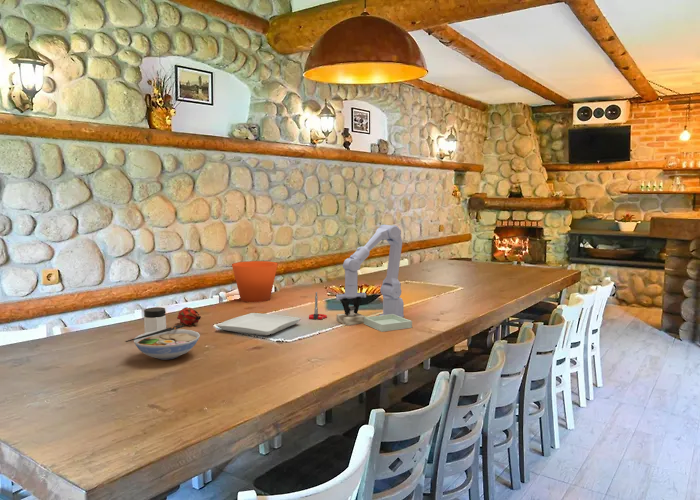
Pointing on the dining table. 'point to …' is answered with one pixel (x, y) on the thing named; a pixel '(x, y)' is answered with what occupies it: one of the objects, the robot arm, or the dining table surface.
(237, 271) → the flowerpot
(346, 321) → the pin block
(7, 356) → the dining table surface
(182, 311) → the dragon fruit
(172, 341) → the ramen bowl
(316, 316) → the tow hook
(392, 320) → the tray
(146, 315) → the jar
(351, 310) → the steel pin
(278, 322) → the square plate
